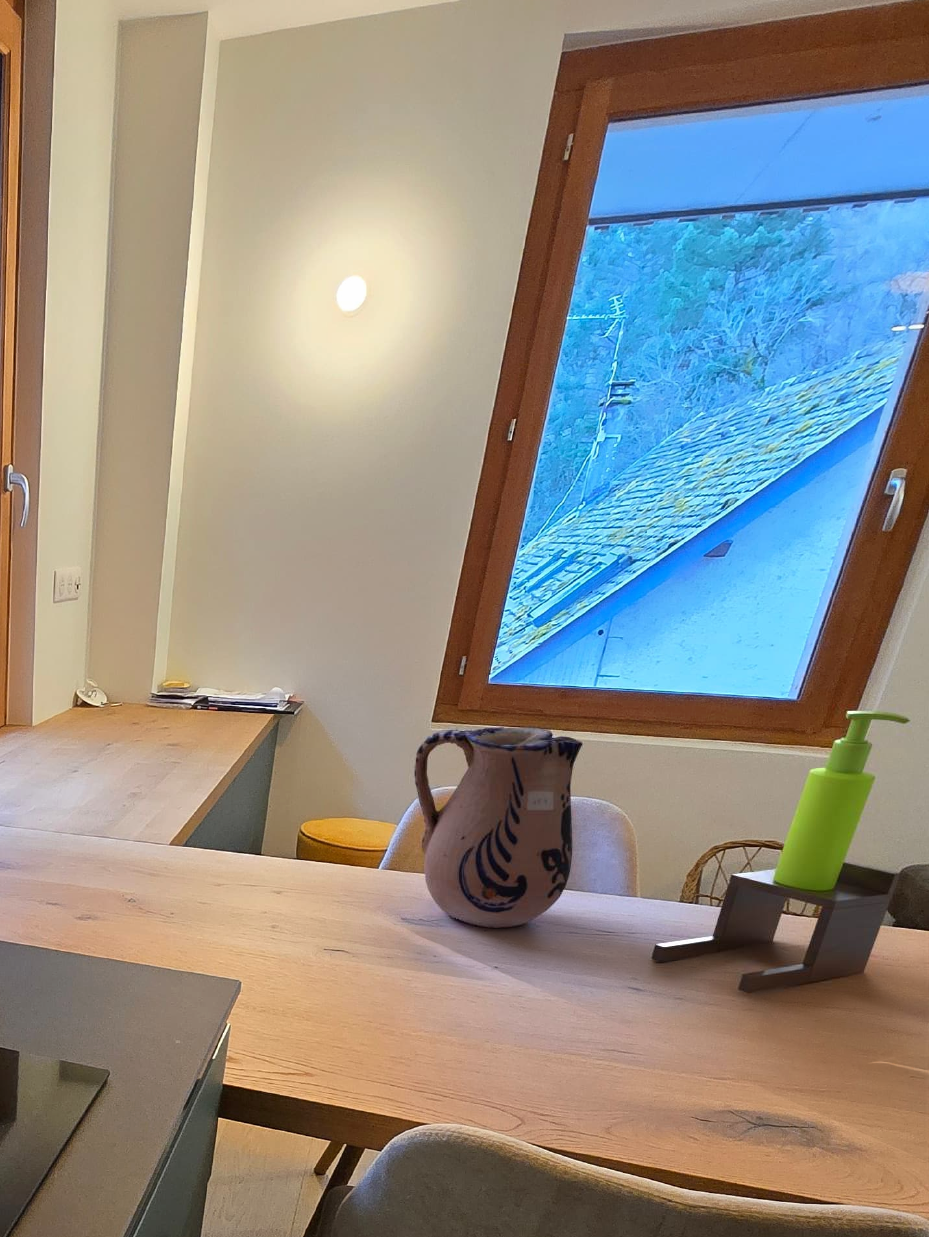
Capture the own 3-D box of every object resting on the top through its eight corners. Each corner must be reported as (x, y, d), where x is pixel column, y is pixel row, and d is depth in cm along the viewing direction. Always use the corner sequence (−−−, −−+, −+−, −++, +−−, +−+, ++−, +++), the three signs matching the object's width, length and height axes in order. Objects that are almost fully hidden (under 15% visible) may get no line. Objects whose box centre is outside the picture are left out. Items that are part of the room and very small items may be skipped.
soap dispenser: (848, 895, 119) (915, 718, 111) (774, 885, 123) (833, 713, 114) (842, 880, 124) (906, 710, 115) (771, 871, 127) (828, 705, 119)
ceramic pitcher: (558, 949, 133) (609, 753, 122) (383, 926, 141) (416, 740, 130) (553, 905, 147) (597, 726, 136) (394, 887, 155) (424, 717, 144)
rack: (863, 973, 124) (900, 873, 119) (747, 993, 118) (782, 888, 113) (762, 942, 134) (792, 849, 130) (650, 959, 128) (678, 862, 123)
